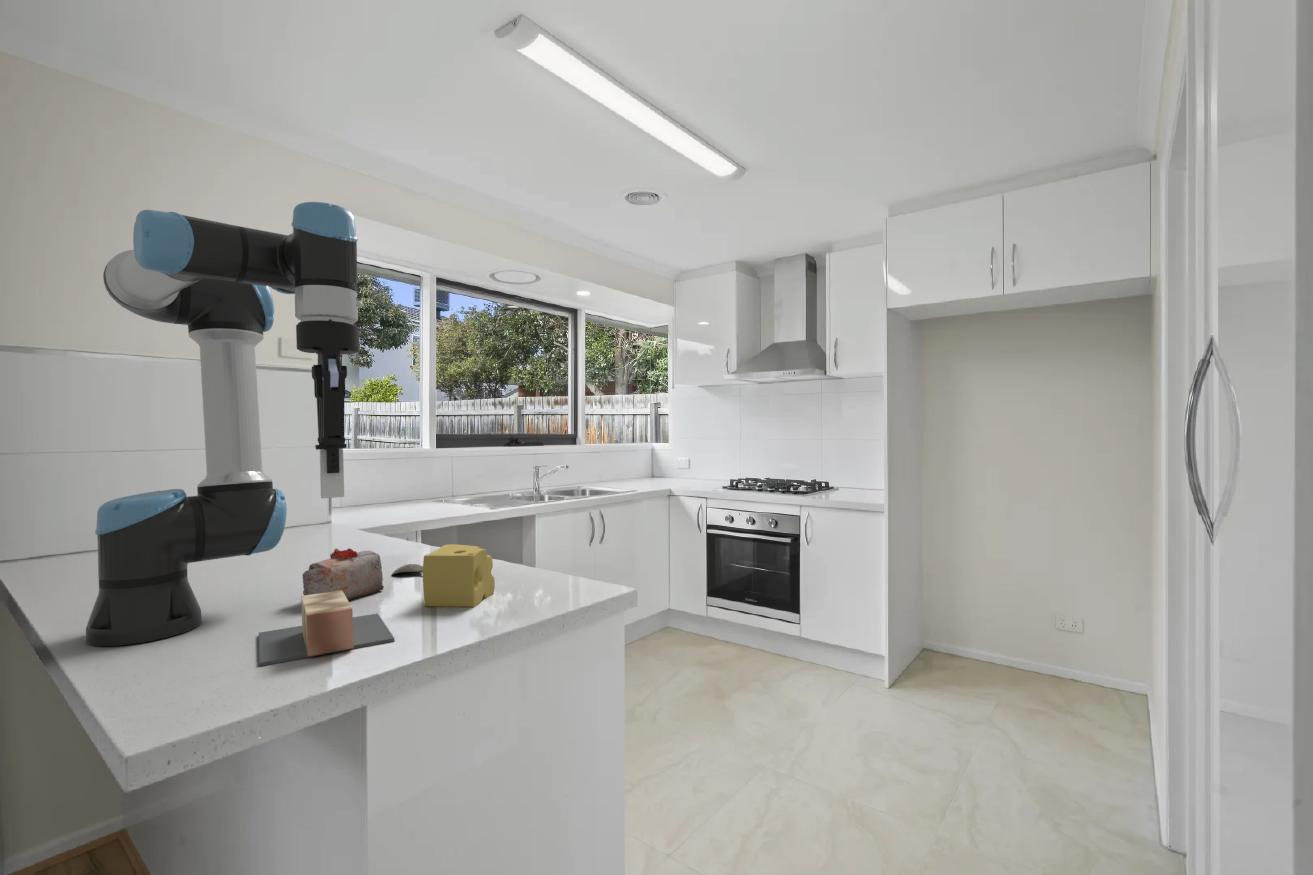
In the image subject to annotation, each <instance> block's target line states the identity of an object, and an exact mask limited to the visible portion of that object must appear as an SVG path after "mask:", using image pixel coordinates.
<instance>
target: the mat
mask: <svg viewBox="0 0 1313 875" xmlns="http://www.w3.org/2000/svg"><path fill="white" fill-rule="evenodd" d="M392 642H395V636H393V634H392V632H391V631H390V630H389V628H388V626H387V625H386V623H385V622H384V621H383V619H382V618H381V616H380V614H379V613H371V614H366V615H359V616H353V648H351V649H345V650H340V651H335V652H329V653H324V654H318V655H313V656H308V654H307V650H306V645H305V641H304V637H303V633H302V625H299V626H291V627H284V628H279V629H273V630H267V631H261V632H258V650H259V651H258V654H259V655H258V656H259V667H265V666H269V665H274V664H279V663H285V662H290V661H296V660H301V659H302V660H303V659H307V658H312V657H317V656H324V655H327V654H333V653H339V652H345V651H349V650H354V649H355V650H356V649H360V648H367V647H371V646H376V645H381V644H387V643H392Z"/></svg>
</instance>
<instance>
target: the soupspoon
mask: <svg viewBox="0 0 1313 875" xmlns="http://www.w3.org/2000/svg"><path fill="white" fill-rule="evenodd" d="M409 572H412V573H423V565H421V564H416V563H409V564H405V565H402V566H400V567H398V568H396V569H395V570H394V571H393V572H392V573H391V575H392V576H394V575H395V574H399V573H409Z"/></svg>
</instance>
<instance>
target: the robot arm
mask: <svg viewBox="0 0 1313 875" xmlns="http://www.w3.org/2000/svg"><path fill="white" fill-rule="evenodd" d="M292 212H293V213H292V221H291V224H290V225H291V227H292V231H293V232H292V233H290V234H289V235H288V234H282V233H277V232H273V231H267V230H261V229H257V228H250V227H245V226H239V225H233V224H229V223H224V222H219V221H214V220H209V219H204V218H198V217H195V216H189V215H184V214H180V213H179V212H174V211H160V210H153V209H142V210H140V211H139V212H138V213H137V215H136V217H135V222H134V224H133V225H134V226H133V233H132V234H133V235H132V236H133V239H132V240H133V241H132V242H133V249H130V250H125V251H122V252H119V253H118V254H116V255H114V256H113V257H112V258H111V259H110V260H109V261H108V262H107V263H106V265H105V267H104V271H103V276H102V278H103V284H104V287H105V290H106V291H107V294H108V295H109V296H110V298H111V299H112V300H113V301H115V302H116V303H117V304H118V305H120V306H121V307H122V308H124V309H125V310H128V311H130V312H131V313H133V314H135V315H137V316H140V317H143V318H145V319H148V320H151V321H154V322H160V323H165V324H174V325H175V324H176V325H183V326H187V329H188V337H189V338H190V339H191V340H192V341H194V342H195V343H196V344H197V345H198V346H199V358H200V361H199V362H200V375H201V376H200V378H201V393H202V410H203V411H202V414H203V429H204V432H203V433H204V450H205V464H206V465H205V466H206V475H205V477H204V479H202V480H201V481H200V482H199V483H198V484H197V488H196V489H197V495H191V496H187V493H186V492H185V490H184V489H182V488H171V489H164V490H154V491H149V492H141V493H137V494H131V495H128V496H122V497H118V498H115V499H111V500H109V501H106V502H104V503H103V504H101V505H100V506H99V507H98V510H97V511H96V512H97V513H96V529H95V531H94V533H95V535H97V570H98V577H97V578H98V593H97V597H96V599H95V601H94V602H95V603H94V605H93V608H92V610H91V613H90V616H89V618H88V621H87V624H86V626H85V642H86V643H87V644H88V645H91V646H97V647H113V646H114V647H116V646H126V645H135V644H142V643H147V642H153V641H157V640H161V639H166V638H170V637H174V636H177V635H181V634H182V633H183V634H184V633H186V632H188V631H191V630H193V629H195V628H197V627H199V626H200V625H201V624H202V609H201V606H200V604H199V602H198V600H197V597H196V594H195V593H194V591H193V589H192V587H191V584H190V582H189V577H188V564H191V563H197V562H204V561H205V562H207V561H212V560H219V559H226V558H233V557H239V556H240V557H241V556H251V555H254V554H259V553H264V552H269V551H271V550H273V549H274V548H276V547H277V545H278V544H279V543H280V542H281V540H282V537H283V535H284V532H285V527H286V521H287V501H286V500H285V499H286V497H285V494H284V492H283V491H282V490H281V489H277V488H274V487H273V486H274V485H273V483H274V482H273V479H272V478H270V477H269V476H268V475H267V474H265V473H264V471H263V461H262V460H263V459H262V458H263V457H262V444H261V429H260V428H261V425H260V411H259V408H260V407H259V396H258V380H257V379H258V378H257V375H258V374H257V364H256V363H257V361H256V347H257V345H259V343H261V342H262V341H263V340H264V333H265V332H269V331H270V330H271V329H272V327H273V325H274V315H275V306H274V299H273V294H272V290H271V289H273V290H274V291H276V292H278V293H280V294H284V295H294V317H295V318H296V319H297V320H299V322H298V323H297V324H296V325H295V330H296V331H295V332H296V334H295V336H296V348H297V350H298V351H300V352H302V353H305V354H306V353H307V354H316V355H317V364H313V365H312V366H311V377H312V379H313V384H314V386H313V390H314V392H313V393H314V395H313V396H314V398H315V399H316V413H317V414H316V415H317V433H318V436H317V443H318V444H315V445H314V447H315V450H316V451H318V450H319V467H320V468H319V470H320V472H319V474H320V475H319V476H320V498H321V499H336V498H345V474H344V472H345V470H344V466H345V465H344V449H347V443H346V437H345V397H346V378H348V377H347V376H348V367H347V365H342V356H341V355H353V354H356V353H358V352H359V350H360V332H359V330H360V329H359V327H358V326H357V325H356V324H355V323H356V322H358V321H359V310H358V308H359V309H361V308H363V302H362V301H361V300H357V298H358V256H357V255H358V253H357V252H358V250H357V249H358V247H357V246H358V245H357V244H358V236H357V229H356V219H355V216H354V214H353V213H352V212H351V211H350V210H348V209H347V208H345V207H343V206H340V205H337V204H333V203H328V202H320V201H304V202H301V203H298V204H296V206H295V207H294V208H293V210H292Z"/></svg>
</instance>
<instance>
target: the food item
mask: <svg viewBox="0 0 1313 875" xmlns="http://www.w3.org/2000/svg"><path fill="white" fill-rule="evenodd" d="M329 555H330V556H329V557H330V558H328V559H324V560H321V561H317V562H314V563H311V564H309V567H308V569H307V570H305V571H304V572H303V573H302V584H303V585H302V587H303V591H302V594H303V595H302V596H304V595H311V594H319V593H326V592H333V591H340V590H342V591H343V593H344V594H345V596H346V598H347V600H348V601H350V600H354V599H357V598H360V597H363V596H369V595H372V594H374V593H378V592H380V591H383V590H384V588H385V587H384V584H383V581H384V578H383V570H382V567H383V566H382V562H381V556H380V554H378V553H376V552H375V551H372V550H363V551H358V552H357V551H355V550H353V549H352V548H347V549H344V550H339V549H338V548H336V547H335V549H334V550H333V552H331V553H330V554H329Z"/></svg>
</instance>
